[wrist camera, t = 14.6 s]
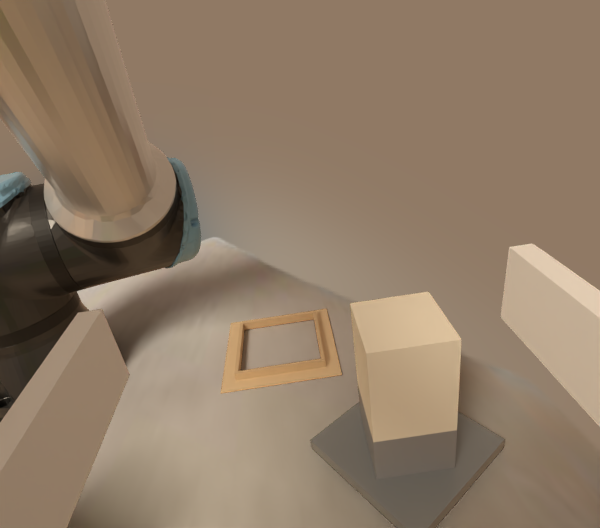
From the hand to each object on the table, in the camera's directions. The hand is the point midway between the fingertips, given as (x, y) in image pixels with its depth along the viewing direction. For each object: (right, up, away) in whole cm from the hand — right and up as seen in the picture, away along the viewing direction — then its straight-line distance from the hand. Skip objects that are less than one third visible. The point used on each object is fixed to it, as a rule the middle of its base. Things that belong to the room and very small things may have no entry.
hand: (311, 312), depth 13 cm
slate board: (+8, -14, +21) cm, 26 cm away
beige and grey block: (+8, -13, +20) cm, 25 cm away
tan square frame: (-3, -8, +35) cm, 36 cm away
